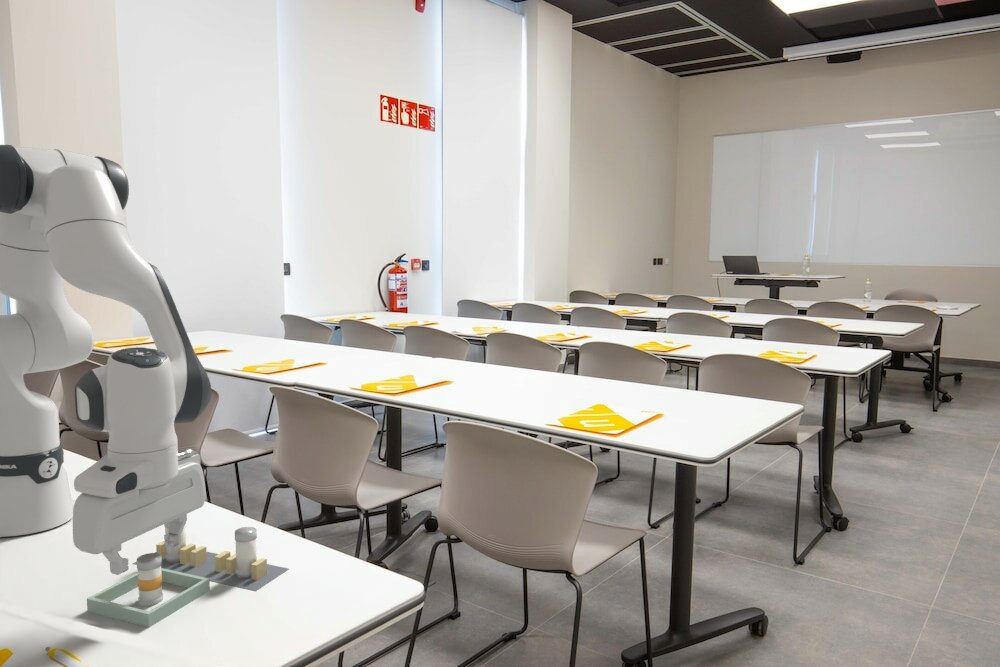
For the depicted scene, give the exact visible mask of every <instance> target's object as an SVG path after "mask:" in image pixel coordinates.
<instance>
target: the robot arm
mask: <svg viewBox="0 0 1000 667" xmlns="http://www.w3.org/2000/svg"><path fill="white" fill-rule="evenodd" d="M129 193H130V185H129V180H128V177H127V173H126V172H125V170H124V169H123V167H122V166H121V164H119V163H117V162H115V161H113V160H111V159H107V158H105V157H102V156H99V155H97V156H96V155H95V156H90V155H87V154H84V153H79V152H74V151H69V150H62V149H59V148H58V149H57V148H54V149H47V148H38V147H37V148H36V147H23V146H18V147H16V146H13V145H12V144H0V294H2V295H4V296H6V297H7V298H11V299H13V300H16V301H17V306H18V307H17V312H16V313H13V314H1V315H0V538H4V537H18V536H24V535H31V534H35V533H40V532H44V531H47V530H51V529H54V528H56V527H59V526H61V525H64V524H65V523H67V522H69V521H71V520H72V540H73V545H74V547H76V549H77V550H78V551H81V552H83V553H87V554H92V555H100V554H102V555H103V556H104V557H105V558H106V559H107V561H108V562H109V572H110V573H111V574H112V575H116V576H117V575H118V576H119V575H121V574H123V573H125V572H127V571H128V570H129V558H126V557H122V556H121V555H120V554H119V552H121V551H122V544H123V543H126V542H128V541H131V540H133V539H135V538H137V537H140V536H142V535H143V534H145V533H147V532H150V531H152V530H154V529H155V530H156V529H157V528H159V527H161V526H164V524H166V523H168V522H170V521H172V522H171V525H170V528H169V532H168V533H167V534H165V533H164V535H163V538H164V540H163V541H165V542H164V544H165V546H166V547H170V548H173V547H175V546H177V545H179V544H181V533H182V530H183V528H184V526H185V527H186V524H187V520H188V515H187V514H190V513H191V512H192V513H193V512H194V511H195V510H198V509H200V508H203V507H204V505H205V502H206V500H207V491H206V483H205V476H204V471H203V468H202V466H201V455H200V454H199V453H198V452H197V451H196V450H193V449H191V448H188V449H184V450H182V451H181V452H179V449H178V448H179V446H178V444H179V442H178V436H177V434H176V431H175V430H176V429H175V424H187V423H188V424H190V423H194V421H195V420H197V419H198V418H199V417H200V416H201V415H202V414H203V413H204V412H205V410H206V409H207V408H208V406H209V405H210V403H211V400H212V384H211V381H210V377H209V375H208V373H207V371H206V370H205V368H204V366H203V364H202V362H201V361H200V359H199V357H198V356H197V354H196V351H195V350H194V348H193V345H192V342H191V340H190V337H189V336H188V333H187V331H186V328H185V325H184V323H183V321H182V319H181V315H180V313H179V310H178V308H177V306H176V304H175V301H174V298H173V296H172V294H171V292H170V289H169V287H168V285H167V283H166V280H165V278H164V276H163V275H162V273H161V271H160V270H159V269H158V268H157V266H155V265H153V264H152V263H150V262H147V260H146V259H144V258H143V256H142V255H141V253H139V251H137V248H136V247H135V246H134V244H133V242H132V240H131V237H130V235H129V230H128V227H127V226H128V225H127V222H126V219H125V218H126V217H125V214H124V211H123V210H124V209H125V208H126V207H127V203H128V201H129V195H130V194H129ZM64 281H66V282H67V283H69V285H72V287H75V288H77V289H79V290H81V291H84V292H86V293H89V294H92V295H96V296H100V297H103V298H107V299H111V300H114V301H116V302H119V303H122V304H125V305H127V306H129V307H130V308H133V309H134V310H135V311H136V312H138V313H139V314H140V315H141V317H143V319H144V321H145V323H146V325H147V328H148V330H149V333H150V335H151V337H152V340H153V343H154V345H155V348H147V347H141V346H140V347H138V346H136V347H128V348H127V347H126V348H122V349H119V350H116V351H114V352H112V353H111V354H110V355H109V356H108V358H107V361H106V364H104V365H101V366H98V367H96V368H93V369H89V370H87V371H86V372H85V373H84V374H83V375H82V376H81V377H80V378H79V380H78V381H77V383H76V384H75V385H74V402H75V403H74V404H75V407H74V408H75V416H76V419H77V421H78V422H79V423H80V424H82V425H83V426H85V427H86V428H89V429H90V430H92V431H94V432H98V433H101V432H102V433H104V432H105V433H109V437H108V442H107V446H106V448H107V450H106V451H107V454H105V455H103V456H102V457H101V458H99V460H98V461H96V462H94V464H92V465H91V466H90V467H88V468H87V469H85V470H83V471H82V472H81V473H79V474H78V475H76V477H75V478H74V480H73V487H74V488H73V489H74V491H75V492H78V493H80V494H79V495H78V496H77V498H76V499H73V498H72V491H71V485H70V479H69V474H68V470H67V468H66V467H65V466H64V465H63V463H64V462H65V460H64V459H65V458H64V455H65V450H64V448H63V444H62V443H61V442H60V441H61V440H60V424H59V422H60V420H59V409H58V407H57V405H56V404H55V402H54V401H53V400H52V399H51V398H50V397H49V396H46V395H44V394H41V393H39V392H35V391H33V390H29V389H28V388H27V387H26V386H27V385H26V383H25V379H24V375H26V374H33V373H41V372H46V371H55V370H61V369H64V368H67V367H71V366H74V365H77V364H79V363H82V362H84V361H86V360H87V359H88V358H89V356H90V355H91V354H92V351H93V349H94V345H95V335H94V334H95V333H94V331H93V328H92V326H91V325H90V323H89V322H88V320H87V319H86V318H85V317H83V316H82V315H80V314H79V313H78V312H77V311H76V310H74V309H73V308H72V306H71V305H70V303H69V301H68V298H67V296H66V293H65V290H64V289H65V288H64ZM185 523H186V524H185Z"/></svg>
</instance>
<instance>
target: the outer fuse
mask: <svg viewBox="0 0 1000 667" xmlns="http://www.w3.org/2000/svg"><path fill="white" fill-rule="evenodd" d="M257 537H258V532H257V527H254V526H243V527H239V528H237V529H235V530H234V541H235V554H236V577H238V578H251V564H252V563H254V562H256V561H257Z"/></svg>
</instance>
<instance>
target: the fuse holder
mask: <svg viewBox="0 0 1000 667" xmlns="http://www.w3.org/2000/svg"><path fill="white" fill-rule="evenodd" d="M164 542H165V540H162V541H161V542H159V543H156V545H155V546H156V547H155V549H156V550H155V551H156V552H154V553H159V554H161V556H162V565H161V568H164V569H168V570H173V571H177V572H182V573H186V574H191V575H195V576H200V577H204V578H209V579H210V582H213V583H217V584H222V585H227V586H231V587H235V588H240V589H245V590H248V591H253V592H258V591H259V590H260V589H262V588H264V587H265V586H266V585H267V584H269V583H270V582H272V581H273V580H275V579H277V578H279V576H282V575H283V574H285V572H287V571H288V570H290V568H287V567H284V566H283V567H282V566H277V565H274V564H273V565H272V564H269V563H268V559H267V558H263V557H260V558H259V559H258V560H257V561H256V562H254V563H252V564H251V578H238V577H236V553H234V554H231V551H230V550H224V551H222V552H220V553H216V552H210V551H207V546H205V545H204V546H203V545H201V546H198V547H196V546H197V545H196V544H194V543H189V544H186V546H185V547H183V548H181V549H179V551H180V562H177V563H168V562H166V558H165V553H166V546H165V544H164ZM133 564H134V565H136V566H137V561H134V562H133V563H132V565H133Z"/></svg>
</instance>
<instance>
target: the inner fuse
mask: <svg viewBox="0 0 1000 667" xmlns="http://www.w3.org/2000/svg"><path fill="white" fill-rule="evenodd" d="M171 522H172V521H170V522H168V523H166V524H163V526H164V535H165V534H167V533H168V532H169V528H170V525H171ZM186 524H187V522H186V523H185V526H184V528H183V530H182V533H181V544H179V545H177V546H175V547H173V548H170V547H166V553H165V558H166V562H168V563H177V562H180V551H179V549H181V548H183V547H185V546H187V536H186V535H187V534H186V533H187V532H186Z"/></svg>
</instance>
